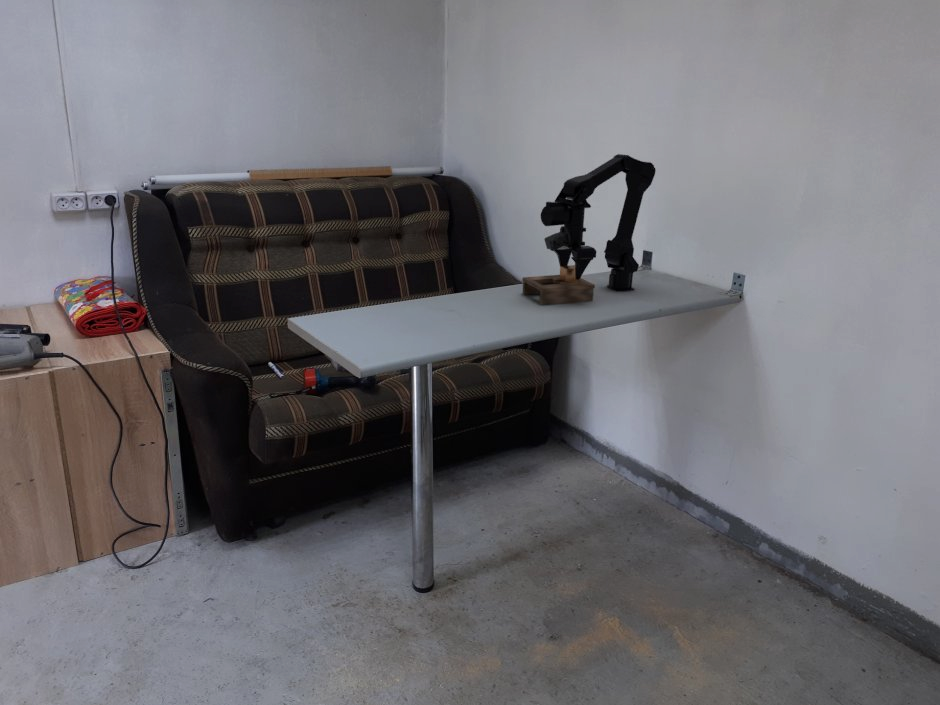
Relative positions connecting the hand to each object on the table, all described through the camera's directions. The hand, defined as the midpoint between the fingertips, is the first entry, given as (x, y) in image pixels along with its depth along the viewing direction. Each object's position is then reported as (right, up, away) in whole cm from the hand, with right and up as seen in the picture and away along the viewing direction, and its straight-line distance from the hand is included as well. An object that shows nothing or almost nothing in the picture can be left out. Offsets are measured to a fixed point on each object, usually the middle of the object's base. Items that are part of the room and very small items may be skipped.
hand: (570, 275), depth 215 cm
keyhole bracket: (-3, -6, +1) cm, 7 cm away
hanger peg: (0, -5, +2) cm, 6 cm away
